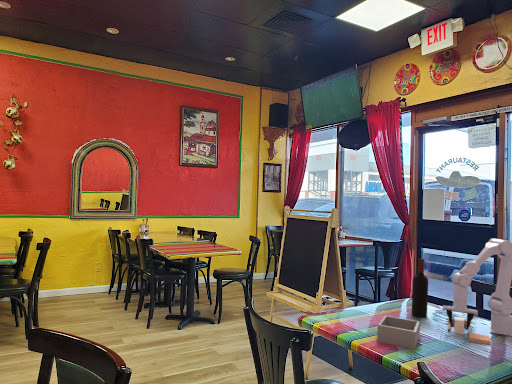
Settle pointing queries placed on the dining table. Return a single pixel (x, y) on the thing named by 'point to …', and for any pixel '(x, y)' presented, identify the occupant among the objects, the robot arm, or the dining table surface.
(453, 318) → the frame
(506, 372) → the dining table surface
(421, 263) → the wine bottle
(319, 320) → the dining table surface
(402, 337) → the box
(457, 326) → the block
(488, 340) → the tile
